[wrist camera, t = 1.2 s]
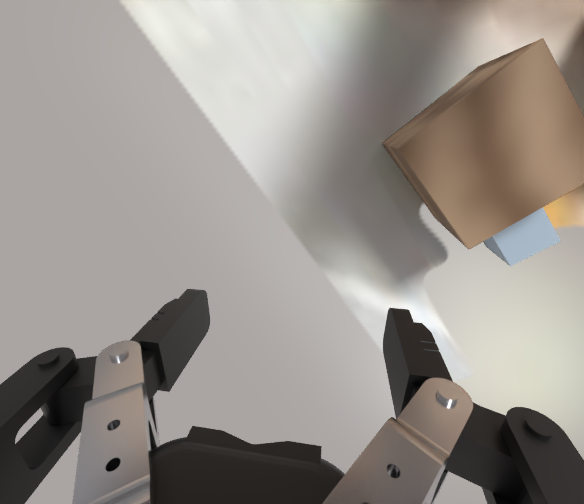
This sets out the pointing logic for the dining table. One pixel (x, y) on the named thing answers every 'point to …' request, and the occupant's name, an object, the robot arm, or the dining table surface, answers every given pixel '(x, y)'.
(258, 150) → the dining table surface
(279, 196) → the dining table surface
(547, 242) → the blank
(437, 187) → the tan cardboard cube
